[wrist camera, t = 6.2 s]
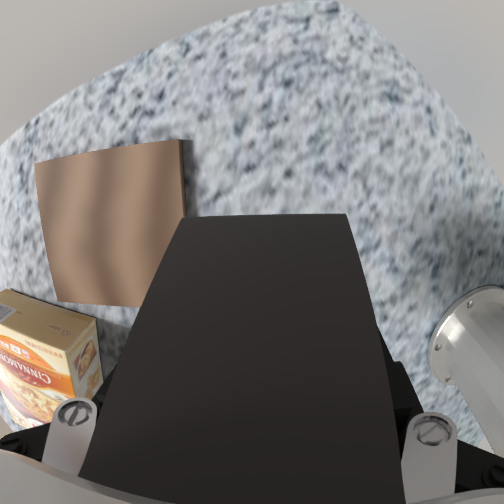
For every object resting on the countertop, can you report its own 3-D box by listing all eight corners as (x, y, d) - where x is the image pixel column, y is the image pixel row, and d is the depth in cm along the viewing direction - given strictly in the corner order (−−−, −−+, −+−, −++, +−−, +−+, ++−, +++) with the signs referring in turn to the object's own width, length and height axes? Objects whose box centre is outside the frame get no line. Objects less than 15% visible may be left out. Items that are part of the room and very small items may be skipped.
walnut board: (181, 139, 25) (178, 139, 24) (195, 304, 30) (193, 309, 29) (40, 162, 27) (34, 163, 26) (62, 297, 31) (58, 301, 30)
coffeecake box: (64, 351, 25) (96, 463, 31) (97, 316, 32) (114, 427, 38) (-29, 310, 25) (12, 422, 31) (6, 286, 32) (34, 395, 38)
